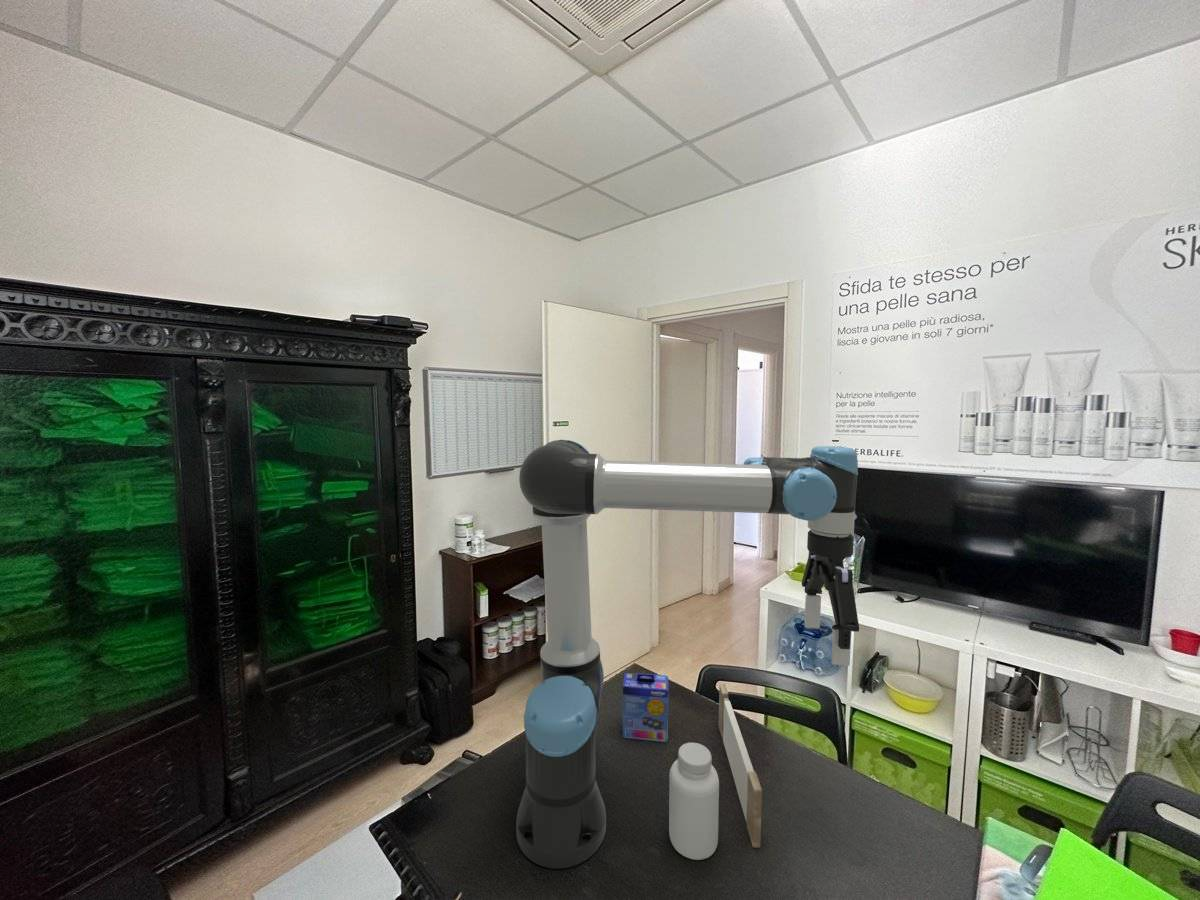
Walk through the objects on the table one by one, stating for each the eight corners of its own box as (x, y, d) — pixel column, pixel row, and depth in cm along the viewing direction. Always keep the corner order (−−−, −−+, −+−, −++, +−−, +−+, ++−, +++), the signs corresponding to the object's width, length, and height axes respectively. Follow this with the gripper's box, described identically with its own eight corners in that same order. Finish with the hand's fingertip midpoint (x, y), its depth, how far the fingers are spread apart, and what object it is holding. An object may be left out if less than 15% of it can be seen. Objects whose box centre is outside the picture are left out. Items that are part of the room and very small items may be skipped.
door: (746, 821, 80) (747, 772, 79) (722, 737, 101) (723, 697, 100) (753, 822, 80) (754, 772, 79) (727, 737, 100) (728, 697, 100)
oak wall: (752, 847, 76) (754, 789, 75) (718, 726, 105) (719, 683, 104) (760, 847, 76) (762, 790, 75) (724, 726, 104) (725, 683, 104)
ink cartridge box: (621, 739, 100) (621, 675, 99) (623, 722, 106) (623, 661, 105) (668, 743, 99) (669, 678, 98) (667, 726, 105) (668, 664, 103)
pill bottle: (714, 819, 81) (715, 737, 80) (721, 864, 73) (723, 774, 72) (667, 815, 82) (668, 734, 80) (669, 859, 74) (671, 770, 72)
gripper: (888, 553, 72) (880, 684, 74) (825, 516, 97) (820, 615, 99) (837, 552, 73) (830, 682, 75) (788, 515, 98) (784, 613, 100)
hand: (825, 644), depth 87 cm, fingers open, 13 cm apart
